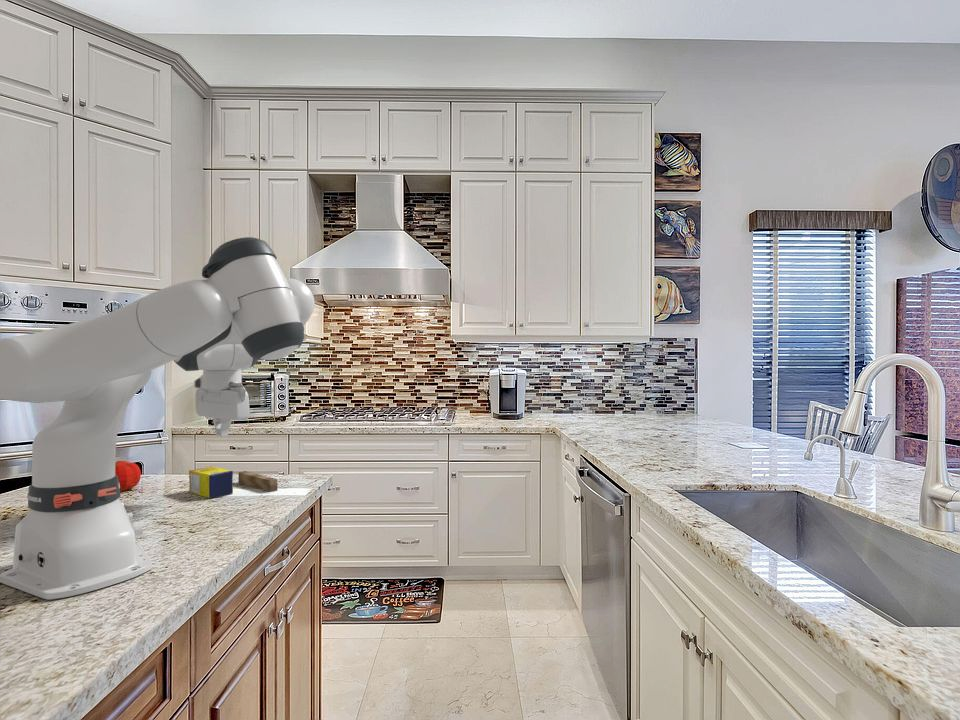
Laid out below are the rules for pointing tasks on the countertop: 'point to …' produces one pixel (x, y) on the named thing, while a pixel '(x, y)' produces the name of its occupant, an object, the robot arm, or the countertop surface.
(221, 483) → the supplement box
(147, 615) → the countertop surface
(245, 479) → the walnut rail
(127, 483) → the tomato
